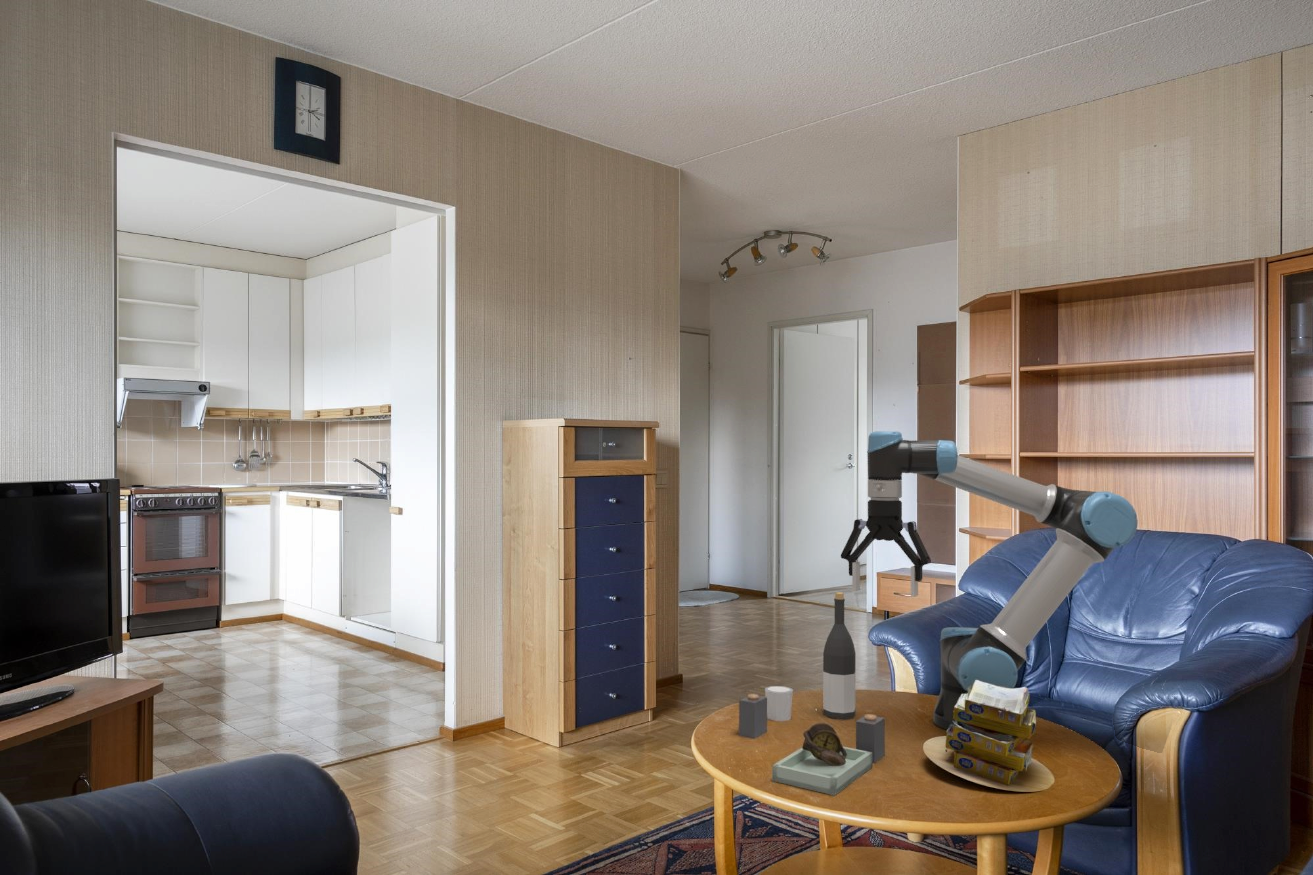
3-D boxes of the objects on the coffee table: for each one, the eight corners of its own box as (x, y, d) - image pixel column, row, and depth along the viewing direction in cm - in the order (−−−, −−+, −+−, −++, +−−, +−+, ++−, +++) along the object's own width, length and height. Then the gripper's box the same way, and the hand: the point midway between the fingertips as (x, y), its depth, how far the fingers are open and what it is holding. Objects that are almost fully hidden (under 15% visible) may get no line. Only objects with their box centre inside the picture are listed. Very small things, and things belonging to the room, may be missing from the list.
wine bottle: (816, 715, 216) (816, 592, 217) (833, 708, 222) (833, 589, 223) (845, 721, 211) (845, 596, 212) (862, 714, 217) (862, 592, 218)
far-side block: (766, 732, 202) (767, 693, 203) (754, 738, 197) (754, 699, 198) (751, 729, 205) (751, 691, 205) (739, 735, 200) (739, 696, 200)
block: (884, 755, 186) (884, 714, 187) (874, 763, 181) (874, 720, 182) (866, 752, 189) (866, 710, 189) (856, 759, 184) (856, 717, 184)
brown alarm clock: (857, 735, 181) (810, 717, 184) (853, 733, 169) (803, 714, 173) (847, 770, 179) (800, 751, 183) (842, 770, 168) (792, 750, 171)
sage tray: (872, 767, 179) (872, 752, 179) (834, 795, 163) (834, 779, 164) (813, 754, 186) (813, 740, 187) (772, 780, 171) (772, 765, 171)
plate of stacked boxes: (1072, 771, 178) (1071, 687, 178) (1026, 804, 160) (1025, 712, 160) (955, 744, 195) (955, 668, 195) (901, 771, 177) (901, 688, 177)
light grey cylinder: (795, 722, 210) (795, 692, 211) (766, 721, 210) (766, 692, 211) (791, 713, 217) (791, 685, 217) (763, 713, 217) (763, 685, 218)
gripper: (826, 498, 203) (826, 590, 203) (934, 501, 189) (934, 600, 188) (839, 497, 210) (839, 586, 209) (945, 500, 195) (945, 596, 195)
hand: (884, 593), depth 199 cm, fingers open, 13 cm apart
